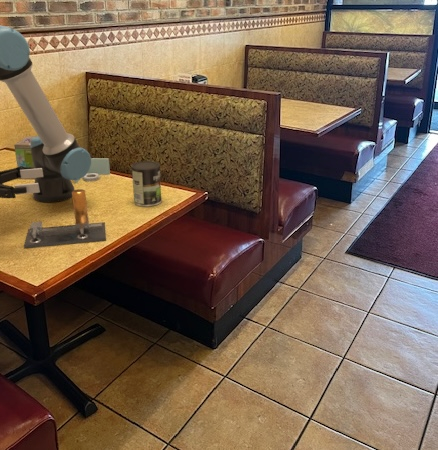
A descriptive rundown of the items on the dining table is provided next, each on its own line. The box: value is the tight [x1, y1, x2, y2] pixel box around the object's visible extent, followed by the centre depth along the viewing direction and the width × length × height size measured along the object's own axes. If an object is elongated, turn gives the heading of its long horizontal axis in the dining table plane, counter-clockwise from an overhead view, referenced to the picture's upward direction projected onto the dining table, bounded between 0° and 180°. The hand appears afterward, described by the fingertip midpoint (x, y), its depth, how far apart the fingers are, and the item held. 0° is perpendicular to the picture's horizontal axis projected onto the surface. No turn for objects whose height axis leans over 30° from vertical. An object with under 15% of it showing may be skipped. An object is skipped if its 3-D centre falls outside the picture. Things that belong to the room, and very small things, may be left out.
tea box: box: [13, 135, 38, 180], centre depth 211 cm, size 15×10×15 cm
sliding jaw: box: [71, 188, 90, 236], centre depth 156 cm, size 9×4×12 cm, turn 13°
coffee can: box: [130, 160, 163, 208], centre depth 182 cm, size 10×10×14 cm
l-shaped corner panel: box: [73, 157, 111, 184], centre depth 207 cm, size 12×12×8 cm
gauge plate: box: [23, 221, 107, 249], centre depth 157 cm, size 12×24×4 cm, turn 103°
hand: (40, 179), depth 150 cm, fingers open, 13 cm apart
